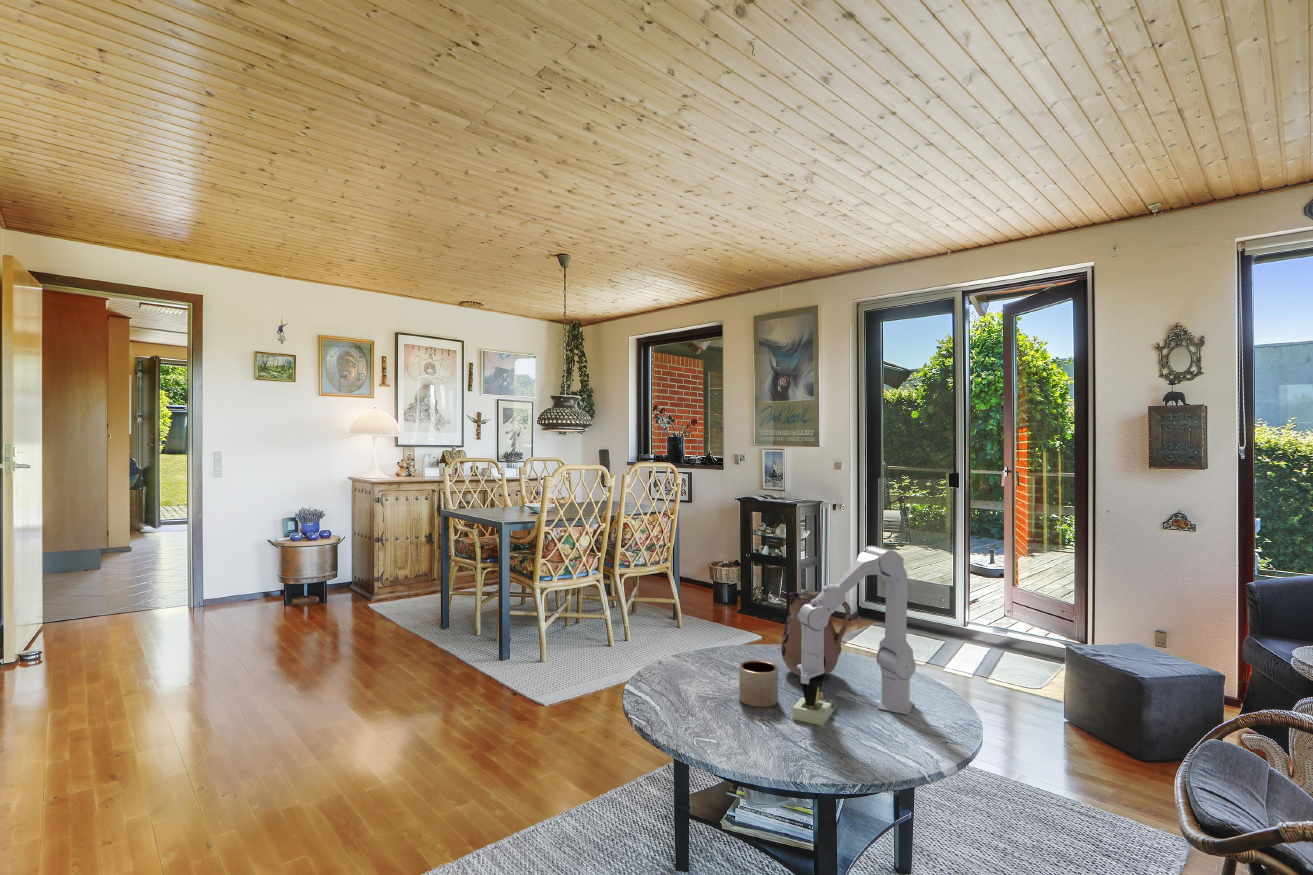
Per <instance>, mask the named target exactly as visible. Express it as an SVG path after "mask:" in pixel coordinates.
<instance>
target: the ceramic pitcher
mask: <svg viewBox="0 0 1313 875" xmlns="http://www.w3.org/2000/svg"><path fill="white" fill-rule="evenodd" d="M821 592H822V591H817V590H806V591H805V590H804V591H802V593H798V592H794V591H793V592H792V591H791V592H789V593H788V595H789V599H790V604H789V605H790V606H789V610H788V615H787V619H786V622H785V626H784V629H783V634H782V638H781V645H780V647H781V648H780V649H781V656H782V660H783V662H784V664H785V666H786V667H787V668H788V669H789V671H790V672H791V673H793V675H796V676H798V677H800V676H801V670H800V669H797V665H799V664H801V642H802V629H801V623H800V621H799V620H798V617H797V614H799V611H800V609H801V607H802V606H803V605H805V604H810V603H811V600H812V599H815V598H816V597H817V596H818V595H819V594H820V593H821ZM841 605H842V607H843V609H844V611H845V614H844V615H845V617H844V620H843V623H842V626H841V628H840V629H839V631H838V632H837V631H836V628H835V626H834V623H833V620H832V617H831V616H830V617H829V621H828V624H827V626H826V627H824V673H826V676H829V674H831V673H832V672H833V671H834V670H835V668H836V665H837V663H838V661H839V657H840V655H841V653H842V640H843V638H844V635H845V633H846V632H847V629H848V627H849V624H850V620H851V613H852V612H851V611H852V609H851V607H850V605H849V603H848V602H847V600H845V601H844V602H843V603H842V604H841ZM841 605H840V606H841Z"/></svg>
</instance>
